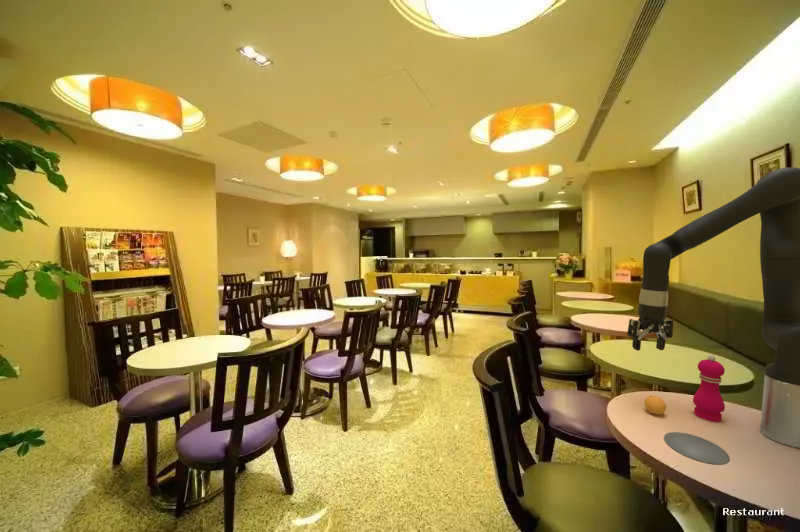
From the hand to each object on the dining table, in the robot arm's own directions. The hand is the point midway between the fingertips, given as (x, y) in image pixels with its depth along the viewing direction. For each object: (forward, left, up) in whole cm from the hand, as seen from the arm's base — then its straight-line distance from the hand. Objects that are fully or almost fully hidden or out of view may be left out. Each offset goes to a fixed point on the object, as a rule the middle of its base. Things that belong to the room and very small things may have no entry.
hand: (648, 349), depth 107 cm
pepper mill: (-14, +7, -19) cm, 25 cm away
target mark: (+2, +24, -19) cm, 30 cm away
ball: (+1, +6, -16) cm, 18 cm away
